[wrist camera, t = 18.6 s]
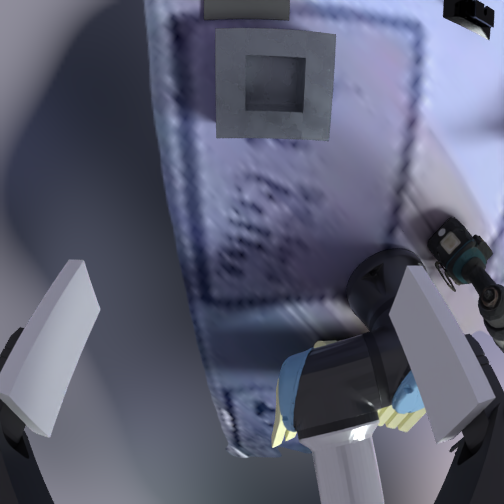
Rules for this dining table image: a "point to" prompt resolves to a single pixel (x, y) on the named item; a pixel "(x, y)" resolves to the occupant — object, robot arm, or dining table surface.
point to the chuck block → (274, 83)
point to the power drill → (470, 272)
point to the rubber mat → (246, 9)
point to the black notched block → (470, 15)
